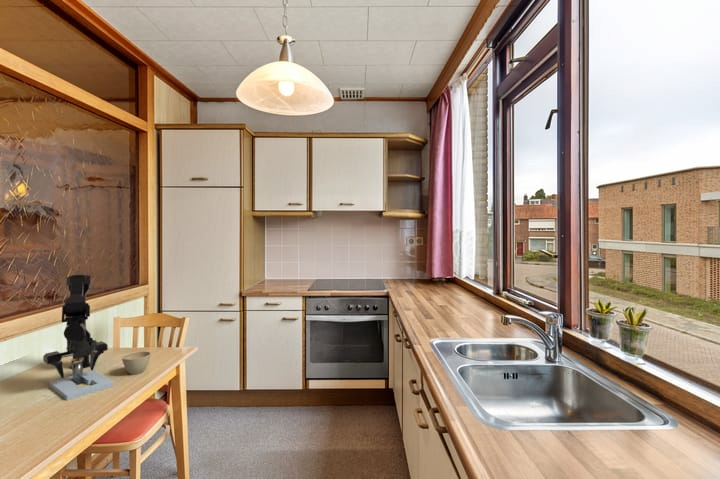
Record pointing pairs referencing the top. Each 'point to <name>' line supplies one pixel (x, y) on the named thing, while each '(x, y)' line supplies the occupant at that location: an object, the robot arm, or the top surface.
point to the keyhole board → (70, 391)
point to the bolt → (77, 370)
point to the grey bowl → (136, 361)
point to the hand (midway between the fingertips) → (77, 374)
